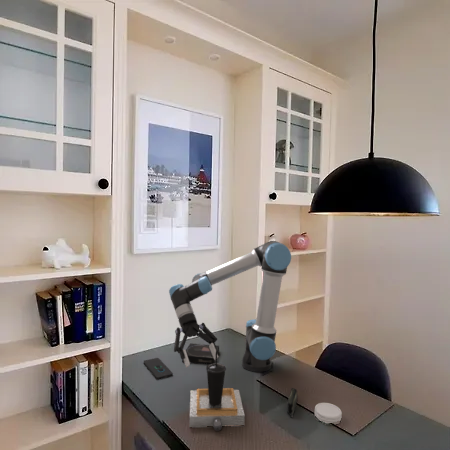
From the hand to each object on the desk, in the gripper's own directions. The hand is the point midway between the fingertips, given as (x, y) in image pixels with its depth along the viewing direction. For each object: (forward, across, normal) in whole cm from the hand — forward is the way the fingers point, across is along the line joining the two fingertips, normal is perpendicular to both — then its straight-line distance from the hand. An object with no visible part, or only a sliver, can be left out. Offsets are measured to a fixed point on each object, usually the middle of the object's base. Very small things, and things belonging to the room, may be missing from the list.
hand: (202, 362), depth 141 cm
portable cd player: (-14, -21, -37) cm, 45 cm away
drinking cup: (+16, 0, -1) cm, 16 cm away
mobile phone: (+28, -28, +6) cm, 40 cm away
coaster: (+37, -35, +14) cm, 53 cm away
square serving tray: (+20, +1, -3) cm, 20 cm away
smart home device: (-13, +4, -36) cm, 39 cm away
